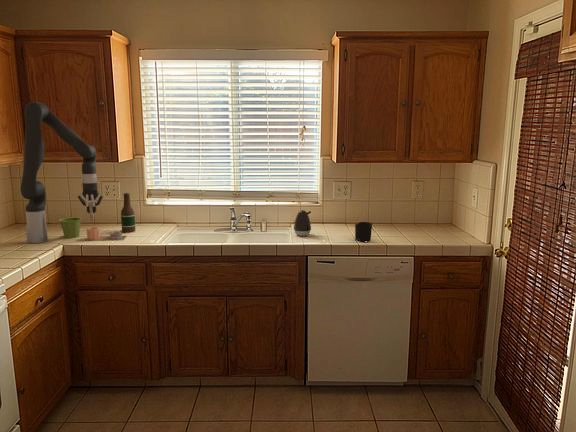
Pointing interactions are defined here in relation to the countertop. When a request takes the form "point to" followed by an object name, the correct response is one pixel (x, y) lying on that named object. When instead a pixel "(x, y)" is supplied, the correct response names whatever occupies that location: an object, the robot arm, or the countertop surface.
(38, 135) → the robot arm
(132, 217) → the beer bottle
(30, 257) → the countertop surface
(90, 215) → the birch dowel
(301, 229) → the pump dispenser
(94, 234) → the terracotta cup
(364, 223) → the pen holder
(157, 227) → the countertop surface
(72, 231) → the plant pot
